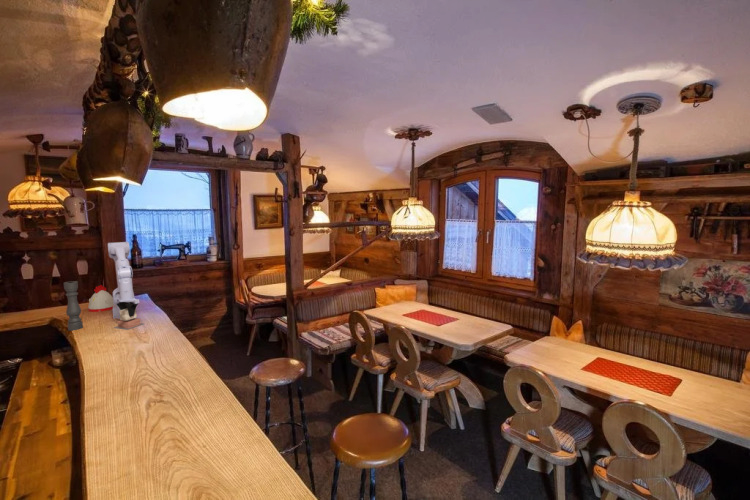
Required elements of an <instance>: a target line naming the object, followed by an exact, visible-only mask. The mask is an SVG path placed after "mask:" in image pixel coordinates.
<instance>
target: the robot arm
mask: <svg viewBox="0 0 750 500" xmlns="http://www.w3.org/2000/svg"><path fill="white" fill-rule="evenodd" d="M107 251H108V256H109V258H110V259H112V260H113V262H114V265H115V273H116V284H117V287H116V288H115V289H114V290H113V291H112V297H113V304H115V305H114V306H113V309H112V317H113V319H118V320H120V310H123V309H128V313H129V317H132V316H134V313H135V309H136V310H137V306H138V305H139V304H140V299H139V298H135V293H134V289H133V288H134V287H133V275H134V273H133V268H132V266H131V264H130V261H129V259H128V257H129V255H130V251H131V248H130V243H129V242H128V241H122V242H121V241H118V242H108V243H107Z"/></svg>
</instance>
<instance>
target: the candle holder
mask: <svg viewBox="0 0 750 500" xmlns="http://www.w3.org/2000/svg"><path fill="white" fill-rule="evenodd" d="M63 288H64V291H65V292H66V293H65V296H66V298H67V306H66V315H67V316H68V320H67V331H70V332H74V331H73V330H75V331H77V330H80V329H83V328H84V325H83V320H82V318H81V317H80V316H81V312H82V308H81V307H80V304H79V301H78V297H77V296H78V295H79V292H77V291H78V289H79V282H78V280H75V281H74V280H73V281H72V280H71V281H65V282H63Z"/></svg>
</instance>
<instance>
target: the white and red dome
mask: <svg viewBox="0 0 750 500" xmlns="http://www.w3.org/2000/svg"><path fill="white" fill-rule="evenodd" d="M93 291H94V293H93V294H92V295H91V297H89V299H88V302H89V303H88V306H87V308H88V312H91V313H97V312H98V313H99V312H106V311H110V310H113V306H114V305H115V304H113V295H111V294H110V293H109V292H108V291H107V287H105V286H103V285H102V284H100V285H98V286H95V288H94V289H93Z"/></svg>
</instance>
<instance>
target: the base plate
mask: <svg viewBox="0 0 750 500" xmlns="http://www.w3.org/2000/svg"><path fill="white" fill-rule="evenodd" d="M143 325H144V323H141V322H140V325H137V326H134V327H131V328H128V329H127V328H120V327H118V325H117V326H115V327H113V329H118V330H127V331H128V330H129V331H130V330H131V329H134V328H137V327H141V326H143Z"/></svg>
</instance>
